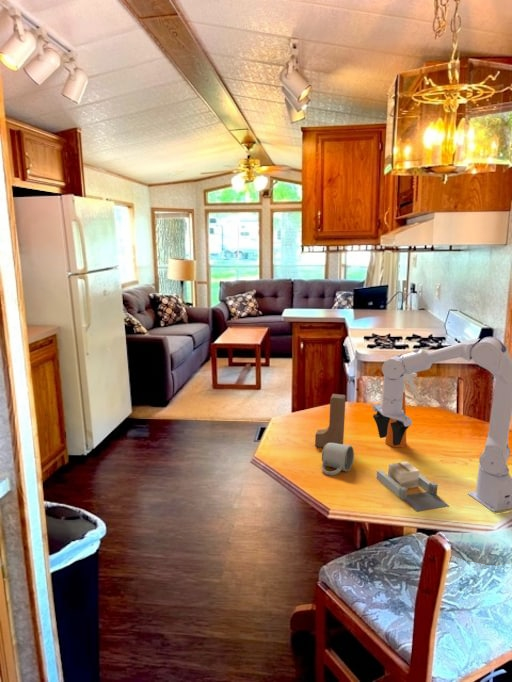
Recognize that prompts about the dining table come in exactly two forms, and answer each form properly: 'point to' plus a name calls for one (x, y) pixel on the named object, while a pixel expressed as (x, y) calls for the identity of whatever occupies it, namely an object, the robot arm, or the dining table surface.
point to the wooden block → (333, 423)
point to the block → (404, 474)
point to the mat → (424, 501)
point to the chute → (402, 491)
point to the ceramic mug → (337, 457)
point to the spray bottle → (389, 432)
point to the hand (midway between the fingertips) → (389, 440)
